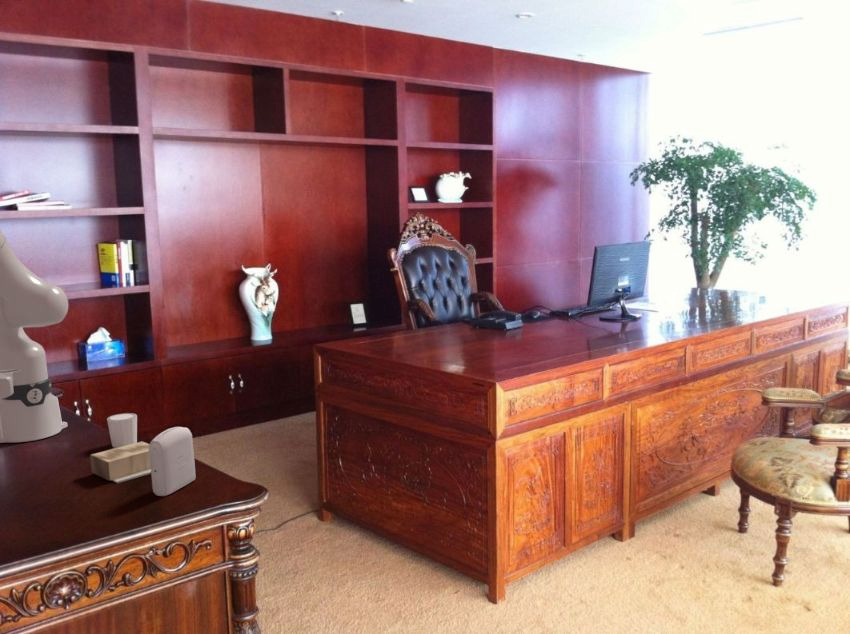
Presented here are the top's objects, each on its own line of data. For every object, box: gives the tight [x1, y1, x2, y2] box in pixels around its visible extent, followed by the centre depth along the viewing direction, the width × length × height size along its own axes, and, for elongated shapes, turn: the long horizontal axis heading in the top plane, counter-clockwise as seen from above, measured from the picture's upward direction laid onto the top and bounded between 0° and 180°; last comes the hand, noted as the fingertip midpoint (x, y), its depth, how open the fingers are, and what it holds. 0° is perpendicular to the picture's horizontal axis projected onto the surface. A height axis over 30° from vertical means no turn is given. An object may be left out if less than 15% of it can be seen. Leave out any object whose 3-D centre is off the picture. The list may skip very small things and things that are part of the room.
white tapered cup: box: [106, 412, 138, 448], centre depth 196 cm, size 7×7×7 cm
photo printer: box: [149, 426, 197, 497], centre depth 165 cm, size 10×4×12 cm, turn 158°
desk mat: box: [111, 468, 151, 484], centre depth 178 cm, size 12×13×1 cm
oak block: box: [89, 440, 151, 481], centre depth 177 cm, size 8×4×12 cm
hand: (20, 373), depth 159 cm, fingers closed
